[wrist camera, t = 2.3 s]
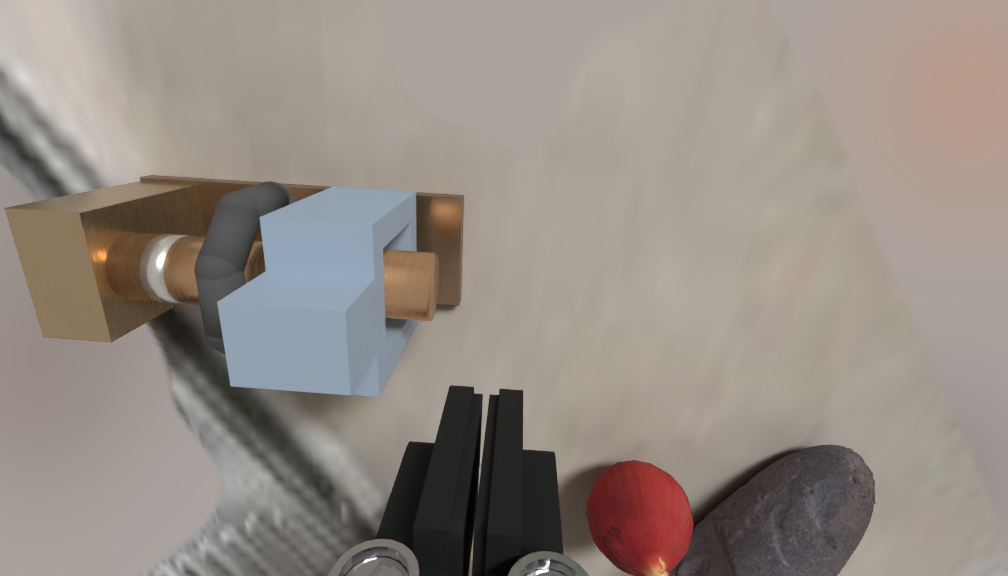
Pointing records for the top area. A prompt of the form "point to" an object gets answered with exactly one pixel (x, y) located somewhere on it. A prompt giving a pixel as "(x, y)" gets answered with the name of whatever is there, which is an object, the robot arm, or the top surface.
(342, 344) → the blue-grey stepped block
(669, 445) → the top surface
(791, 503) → the perforated stone tool
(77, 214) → the pipe rig
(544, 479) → the robot arm
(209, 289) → the o ring
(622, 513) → the onion
